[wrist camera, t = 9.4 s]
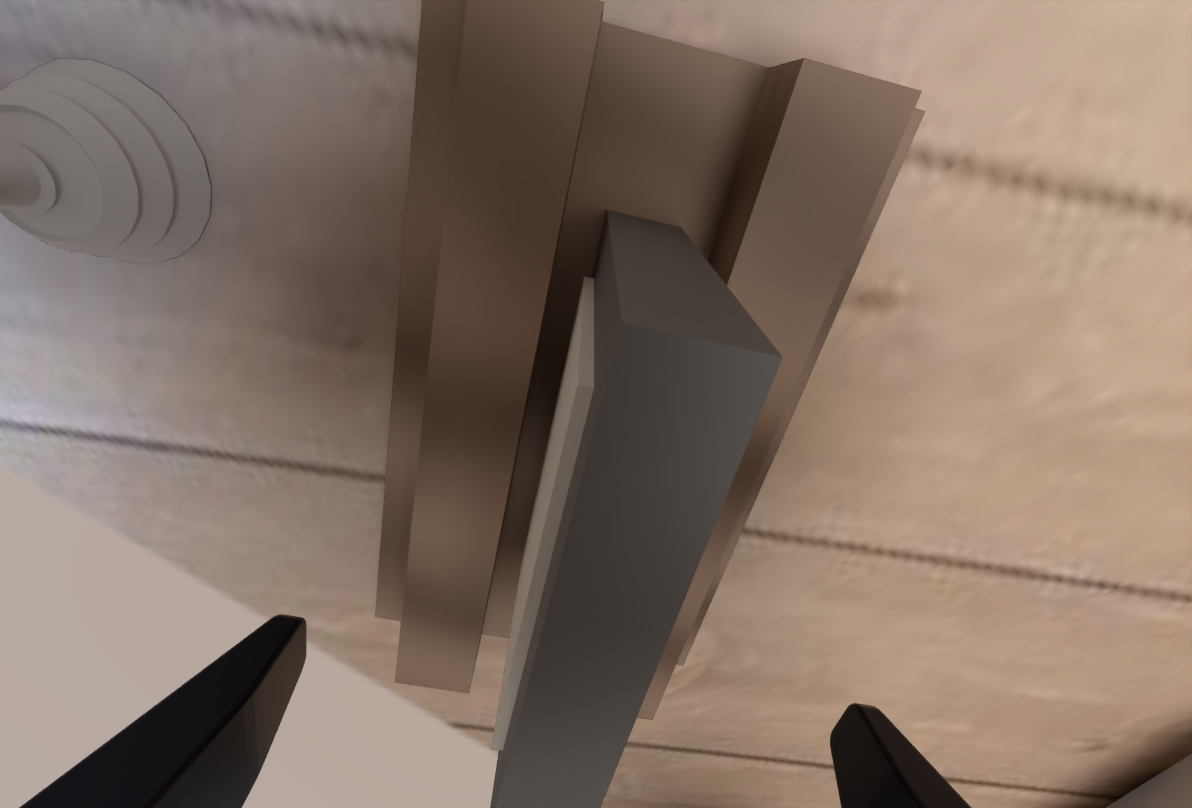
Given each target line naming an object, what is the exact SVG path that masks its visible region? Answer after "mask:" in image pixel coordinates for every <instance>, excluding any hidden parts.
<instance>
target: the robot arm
mask: <svg viewBox="0 0 1192 808" xmlns="http://www.w3.org/2000/svg"><path fill="white" fill-rule="evenodd" d="M305 659H306V621H305V619H304V618H301V617H296V616H289V615H277V616H274V617H273V618H271V619H270V620H268V621H267V622H266V623H264V624H263V625H262V626H260V627H259V628H258V629H256V630H255V631H254V632H253V633H251V634H250V635H248V636H247V637H246V638H244V639H243V640H242V641H240V642H239V643H238V644H236V645H235V646H234V647H232V648H231V649H230V650H228V651H227V652H226V653H225V654H223V655H222V656H221V657H219V658H218V659H217V660H215V661H214V662H213V663H211V664H210V665H209V666H207V667H206V668H205V669H203V670H202V671H201V672H199V673H198V674H197V675H195V676H194V677H193V678H191V679H190V680H189V681H187V682H186V683H185V684H183V685H182V686H181V687H179V688H178V689H177V690H175V691H174V692H173V693H171V694H170V695H169V696H167V697H166V698H165V699H163V700H162V701H161V702H159V703H158V704H157V705H155V706H154V707H153V708H152V709H150V710H149V711H147V712H146V713H145V714H143V715H142V716H141V717H139V718H138V719H137V720H135V721H134V722H133V723H131V724H130V725H129V726H127V727H126V728H125V729H123V730H122V731H121V732H119V733H118V734H117V735H115V736H114V737H113V738H111V739H110V740H109V741H108V742H106V743H105V744H103V745H102V746H101V747H100V748H98V749H97V750H95V751H94V752H93V753H91V754H90V755H89V756H87V757H86V758H85V759H83V760H82V761H81V762H79V763H78V764H77V765H75V766H74V767H73V768H71V769H70V770H69V771H67V772H66V773H65V774H64V775H62V776H61V777H59V778H58V779H57V780H55V781H54V782H53V783H51V784H50V785H49V786H48V787H46V788H45V789H43V790H42V791H41V792H39V793H38V794H37V795H35V796H34V797H33V798H32V799H30V800H29V801H28V802H26V803H25V804H24V805H22V806H21V807H20V808H242V806H243V804H244V802H245V800H246V798H247V796H248V795H249V793H250V791H251V789H252V787H253V785H254V783H255V781H256V779H257V777H258V775H259V773H260V770H261V768H262V766H263V763H264V761H265V759H266V757H267V754H268V752H269V749H270V747H271V744H272V742H273V740H274V737H275V734H276V732H277V730H278V727H279V725H280V723H281V720H282V718H283V715H284V713H285V710H286V708H287V705H288V703H289V701H290V698H291V696H292V693H293V691H294V689H295V686H296V684H297V681H298V679H299V676H300V674H301V672H302V669H303V666H304V663H305ZM830 747H831V753H832V759H833V764H834V770H835V775H836V780H837V786H838V791H839V797H840V802H841V808H971V807H970V806H969V805H968V804H967V803H966V802H965V800H964V799H963V798H962V797H961V796H960V795H959V794H958V793H957V792H956V791H955V790H954V789H953V788H952V787H951V785H950V784H949V783H948V782H947V781H946V780H945V779H944V778H943V777H942V776H941V775H940V774H939V773H938V772H937V771H936V769H935V768H934V767H933V766H932V765H931V764H930V763H929V762H928V761H927V760H926V759H925V758H924V757H923V756H922V754H921V753H920V752H919V751H918V750H917V749H916V748H915V747H914V746H913V745H912V744H911V743H910V742H909V741H908V740H907V738H906V737H905V736H904V735H903V734H902V733H901V732H900V731H899V730H898V729H897V728H896V727H895V726H894V725H893V723H892V722H891V721H890V720H889V719H888V718H887V717H886V716H885V715H884V714H883V713H882V712H881V711H880V710H879V709H878V708H876V707H874V706H870V705H863V704H857V703H853V704H851V705H849V706H848V708H847V709H846V711H845V712H844V714H843V715H842V717H841V718H840V720H839V721H838V723H837V724H836V726H835V727H834V729H833V730H832V733H831V737H830Z"/></svg>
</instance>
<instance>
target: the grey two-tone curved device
mask: <svg viewBox="0 0 1192 808" xmlns="http://www.w3.org/2000/svg"><path fill="white" fill-rule="evenodd" d="M1106 808H1192V754H1190V755H1189V756H1187V757H1185V758H1184V759H1182V760H1181V761H1179V762H1177V763H1176V764H1174V765H1173V766H1171V767H1169V768H1168V769H1166V770H1165V771H1163V772H1162V773H1160V774H1158V775H1157V776H1155V777H1154V778H1152V779H1150V780H1149V781H1147V782H1146V783H1144V784H1142V785H1141V786H1139V787H1138V788H1136V789H1134V790H1133V791H1131V792H1130V793H1128V794H1126V795H1125V796H1123V797H1122V798H1120V799H1119V800H1117V801H1115V802H1114V803H1112V804H1111V805H1109V806H1107V807H1106Z"/></svg>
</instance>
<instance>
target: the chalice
mask: <svg viewBox="0 0 1192 808" xmlns="http://www.w3.org/2000/svg"><path fill="white" fill-rule="evenodd" d="M210 202H211V185H210V181H209V177H208V173H207V169H206V165H205V161H204V157H203V155H202V153H201V151H200V149H199V147H198V146H197V144H196V142H195V140H194V138H193V136H192V135H191V133H190V131H189V129H188V127H187V125H186V124H185V123H184V122H183V121H182V120H181V118H180V117H179V116H178V115H177V114H176V113H175V112H174V111H173V109H172V108H171V107H170V106H169V105H168V104H167V103H166V102H165V100H164V99H163V98H162V97H161V96H160V95H159V94H157V93H156V92H154V91H153V90H151V89H150V88H149V87H147V86H146V85H144V84H143V83H142V82H140V81H139V80H137V79H136V78H134V77H133V76H132V75H130V74H129V73H126V72H124V71H121V70H118V69H116V68H113V67H110V66H108V65H105V64H102V63H100V62H97V61H94V60H79V59H58V60H55V61H53V62H50V63H47V64H45V65H42V66H39V67H36V68H34V69H32V70H31V72H30V73H29V74H28V75H27V76H26V77H24V78H21V79H18V80H16V81H13V82H10V84H9V85H8V86H7V87H6V88H5V89H3V90H1V91H0V212H1V213H2V214H3V215H4V216H5V217H7V218H8V219H9V220H10V221H11V222H12V223H14V224H15V225H17V226H18V227H20V228H22V229H23V230H25V231H27V232H28V233H30V234H32V235H33V236H35V237H37V238H38V239H40V240H42V241H43V242H45V243H47V244H50V245H53V246H56V247H59V248H62V249H65V250H68V251H71V252H86V253H89V254H92V255H95V256H98V257H112V258H116V259H119V260H122V261H125V262H133V263H158V262H162V261H165V260H168V259H171V258H175V257H178V256H180V255H182V254H183V253H184V252H185V251H186V250H187V249H189V248H190V247H191V246H192V245H193V244H195V243H196V242H197V241H198V240H199V238H200V236H201V234H202V232H203V230H204V228H205V225H206V223H207V221H208V219H209V216H210Z"/></svg>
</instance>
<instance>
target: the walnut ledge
mask: <svg viewBox="0 0 1192 808" xmlns="http://www.w3.org/2000/svg"><path fill="white" fill-rule="evenodd" d="M603 6H604V2H602V1H598V0H422V9H421V22H420V35H419V48H418V61H417V75H416V88H415V101H414V114H413V127H412V140H411V153H410V166H409V179H408V192H407V206H406V219H405V232H404V245H403V258H402V271H401V284H400V297H399V310H398V324H397V337H396V350H395V363H394V376H393V389H392V402H391V415H390V428H389V442H388V455H387V468H386V481H385V494H384V507H383V520H382V533H381V546H380V560H379V573H378V586H377V599H376V612H375V617H378V618H385V619H391V620H397V621H401V629H400V638H399V648H398V657H397V667H396V676H395V683H402V684H409V685H416V686H423V687H430V688H436V689H443V690H450V691H457V692H464V693H469V690H470V686H471V681H472V676H473V672H474V667H475V663H476V658H477V653H478V649H479V644H480V639H481V635H482V634H486V635H493V636H499V637H505V638H510V632H511V626H512V619H513V613H514V607H515V601H516V595H517V588H518V582H519V576H520V570H521V564H522V558H523V551H524V546H525V542H526V537H527V533H528V528H529V524H530V519H531V515H532V510H533V506H534V501H535V497H536V492H537V488H538V483H539V479H540V474H541V470H542V465H543V460H544V456H545V451H546V447H547V442H548V438H549V433H550V429H551V424H552V420H553V415H554V411H555V406H556V402H557V397H558V393H559V388H560V384H561V379H562V375H563V370H564V365H565V361H566V356H567V352H568V347H569V343H570V338H571V334H572V329H573V325H574V320H575V316H576V311H577V307H578V302H579V298H580V293H581V289H582V284H583V280H584V276H585V277H589V278H591V277H592V273H593V268H594V264H595V260H596V255H597V251H598V246H599V242H600V238H601V233H602V229H603V224H604V220H605V216H606V211H607V210H611V211H615V212H619V213H623V214H627V215H631V216H636V217H640V218H644V219H648V220H652V221H656V222H661V223H665V224H669V225H673V226H677V227H681V228H682V229H683V230H684V232H685V233H686V234H687V236H688V237H689V238H690V239H691V241H692V242H693V243H694V245H695V246H696V247H697V248H698V250H699V251H700V252H701V253H702V255H703V256H704V257H705V259H706V260H707V261H708V262H709V264H710V265H711V266H712V268H713V269H714V270H715V271H716V273H717V274H718V275H719V276H720V278H721V279H722V280H723V282H724V283H725V284H726V285H727V287H728V288H729V289H730V290H731V292H732V293H733V294H734V296H735V297H736V298H737V299H738V301H739V302H740V303H741V305H742V306H743V307H744V308H745V310H746V311H747V312H748V313H749V315H750V316H751V317H752V319H753V320H754V321H755V322H756V324H757V325H758V326H759V327H760V329H761V330H762V331H763V333H764V334H765V335H766V336H767V338H768V339H769V340H770V342H771V343H772V344H773V345H774V347H775V348H776V349H777V350H778V352H779V353H780V354H781V356H782V357H783V358H782V361H781V363H780V366H779V368H778V371H777V373H776V376H775V378H774V380H773V383H772V385H771V388H770V390H769V393H768V395H767V398H766V400H765V403H764V405H763V408H762V410H761V412H760V415H759V417H758V420H757V422H756V425H755V427H754V430H753V432H752V435H751V437H750V440H749V442H748V445H747V447H746V449H745V452H744V454H743V457H742V459H741V462H740V464H739V467H738V469H737V472H736V474H735V477H734V479H733V481H732V484H731V486H730V489H729V491H728V494H727V496H726V499H725V501H724V504H723V506H722V509H721V511H720V514H719V516H718V518H717V521H716V523H715V526H714V528H713V531H712V533H711V536H710V538H709V541H708V543H707V546H706V548H705V550H704V553H703V555H702V558H701V560H700V563H699V565H698V568H697V570H696V573H695V575H694V578H693V580H692V583H691V585H690V587H689V590H688V592H687V595H686V597H685V600H684V602H683V605H682V607H681V610H680V612H679V615H678V617H677V619H676V622H675V624H674V627H673V629H672V632H671V634H670V637H669V639H668V642H667V644H666V647H665V649H664V652H663V654H662V656H661V659H660V661H659V664H658V666H657V669H656V671H655V674H654V676H653V679H652V681H651V684H650V686H649V688H648V691H647V693H646V696H645V698H644V701H643V703H642V706H641V708H640V711H639V713H638V716H637V718H642V719H649V720H653V717H654V715H655V713H656V710H657V708H658V706H659V703H660V701H661V699H662V696H663V694H664V692H665V689H666V687H667V685H668V682H669V680H670V678H671V675H672V673H673V671H674V668H675V666H676V664H677V665H684V662H685V660H686V658H687V655H688V653H689V651H690V649H691V646H692V644H693V642H694V639H695V637H696V635H697V633H698V630H699V628H700V626H701V623H702V621H703V619H704V617H705V614H706V612H707V610H708V607H709V605H710V603H711V601H712V598H713V596H714V594H715V591H716V589H717V587H718V585H719V582H720V580H721V578H722V575H723V573H724V571H725V569H726V566H727V564H728V562H729V559H730V557H731V555H732V553H733V550H734V548H735V546H736V543H737V541H738V539H739V536H740V534H741V532H742V530H743V527H744V525H745V523H746V520H747V518H748V516H749V514H750V511H751V509H752V507H753V504H754V502H755V500H756V498H757V495H758V493H759V491H760V488H761V486H762V484H763V482H764V479H765V477H766V475H767V472H768V470H769V468H770V466H771V463H772V461H773V459H774V456H775V454H776V452H777V450H778V447H779V445H780V443H781V440H782V438H783V436H784V434H785V431H786V429H787V427H788V424H789V422H790V420H791V418H792V415H793V413H794V411H795V408H796V406H797V404H798V401H799V399H800V397H801V395H802V392H803V390H804V388H805V385H806V383H807V381H808V379H809V376H810V374H811V372H812V369H813V367H814V365H815V363H816V360H817V358H818V356H819V353H820V351H821V349H822V347H823V344H824V342H825V340H826V337H827V335H828V333H829V331H830V328H831V326H832V324H833V321H834V319H835V317H836V315H837V312H838V310H839V308H840V305H841V303H842V301H843V299H844V296H845V294H846V292H847V289H848V287H849V285H850V283H851V280H852V278H853V276H854V273H855V271H856V269H857V267H858V264H859V262H860V260H861V257H862V255H863V253H864V250H865V248H866V246H867V244H868V241H869V239H870V237H871V234H872V232H873V230H874V228H875V225H876V223H877V221H878V218H879V216H880V214H881V212H882V209H883V207H884V205H885V202H886V200H887V198H888V196H889V193H890V191H891V189H892V186H893V184H894V182H895V180H896V177H897V175H898V173H899V170H900V168H901V166H902V164H903V161H904V159H905V157H906V154H907V152H908V150H909V148H910V145H911V143H912V141H913V138H914V136H915V134H916V132H917V129H918V127H919V125H920V122H921V120H922V118H923V115H924V113H925V111H923V110H920V109H916V108H915V106H916V104H917V101H918V99H919V97H920V94H921V92H922V91H920V90H916V89H913V88H909V87H905V86H902V85H898V84H895V83H891V82H888V81H884V80H880V79H877V78H873V77H870V76H866V75H863V74H859V73H856V72H852V71H848V70H845V69H841V68H838V67H834V66H831V65H827V64H823V63H820V62H816V61H813V60H809V59H806V58H803V59H799V60H796V61H792V62H788V63H785V64H781V65H777V66H774V67H770V68H768V67H764V66H760V65H757V64H753V63H749V62H746V61H742V60H739V59H735V58H731V57H728V56H724V55H720V54H717V53H713V52H710V51H706V50H702V49H699V48H695V47H692V46H688V45H684V44H681V43H677V42H673V41H670V40H666V39H663V38H659V37H655V36H652V35H648V34H644V33H641V32H637V31H634V30H630V29H626V28H623V27H619V26H616V25H612V24H608V23H605V22H602V18H603Z"/></svg>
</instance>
